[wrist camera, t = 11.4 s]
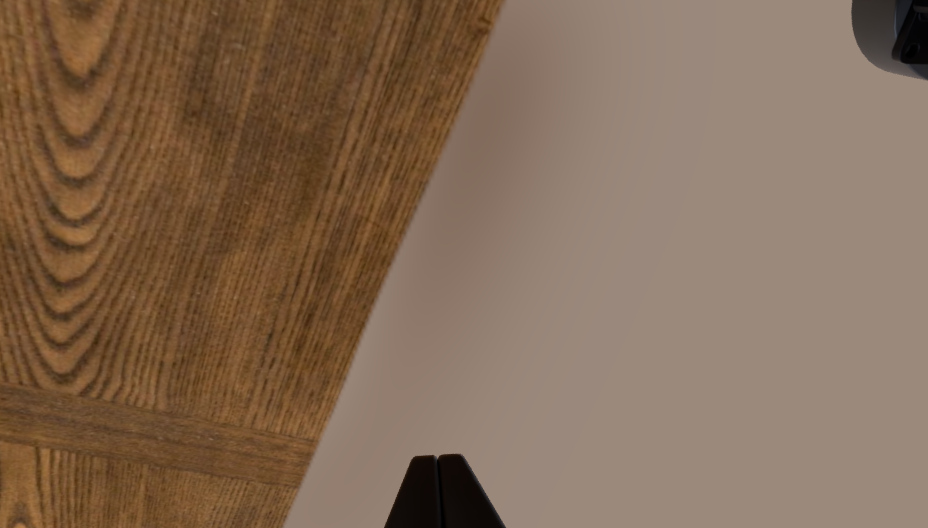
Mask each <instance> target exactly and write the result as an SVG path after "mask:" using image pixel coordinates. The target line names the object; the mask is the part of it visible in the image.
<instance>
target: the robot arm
mask: <svg viewBox="0 0 928 528" xmlns="http://www.w3.org/2000/svg"><path fill="white" fill-rule="evenodd" d="M909 46H910V49H909V51H908V52H907V53H906V50H907V49H908V47H909ZM891 58H892V60H893V61H894V62H898V63H903V64H924V65H928V0H912V3H911V5H910V8H909V10H908V12H907V15H906V17H905V20H904V22H903V24H902V27H901V29H900V32H899V34H898V36H897V39H896V41H895V44H894V46H893V48H892V52H891ZM384 528H506V527H505V525H504V524H503V522H502V521H501V519H500V517H499V515H498V513H497V512H496V510H495V508H494V507H493V505H492V503H491V502H490V500H489V498H488V496H487V495H486V493H485V492H484V490H483V488H482V486H481V485H480V483H479V481H478V480H477V478H476V476H475V474H474V473H473V471H472V469H471V468H470V466H469V464H468V462H467V461H466V459H465V458H464V456H463V455H461V454H444V455H440V456H439V458H438V459H437V457H436V456H434V455H426V456H415V457H413V459H412V460H411V462H410V465H409V467H408V470H407V472H406V474H405V477H404V479H403V482H402V484H401V487H400V489H399V492H398V494H397V497H396V499H395V502H394V504H393V507H392V509H391V512H390V515H389V517H388V519H387V522H386V524H385V527H384Z"/></svg>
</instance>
